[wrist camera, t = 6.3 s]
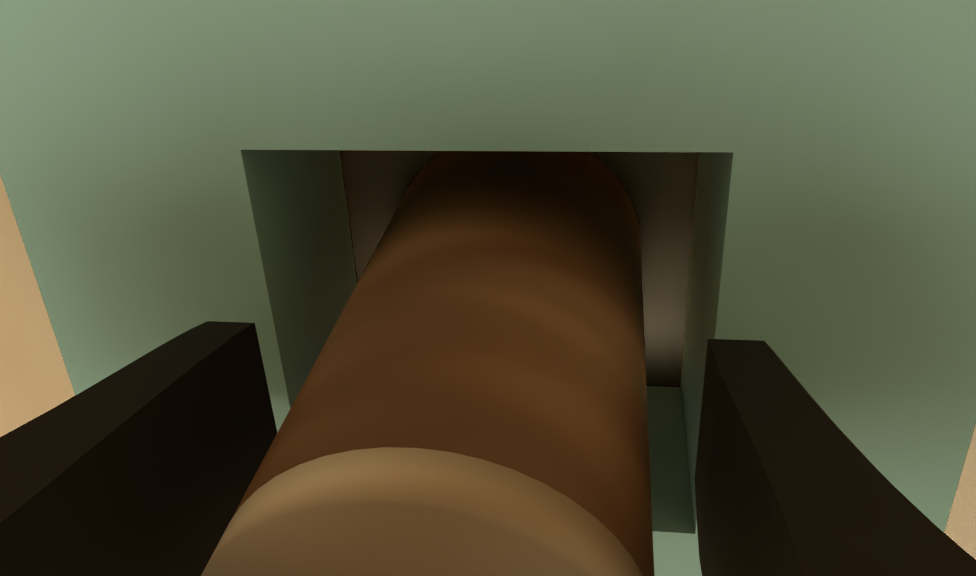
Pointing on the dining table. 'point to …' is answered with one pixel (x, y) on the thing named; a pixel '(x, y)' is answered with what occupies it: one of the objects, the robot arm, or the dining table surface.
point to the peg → (472, 392)
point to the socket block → (520, 127)
